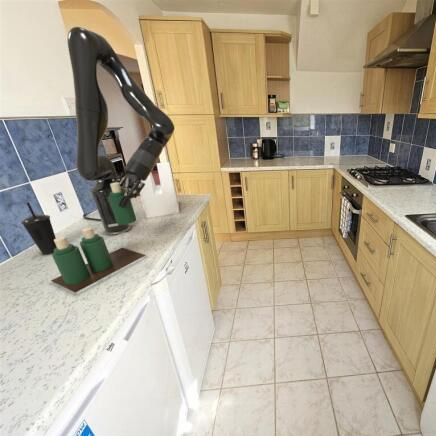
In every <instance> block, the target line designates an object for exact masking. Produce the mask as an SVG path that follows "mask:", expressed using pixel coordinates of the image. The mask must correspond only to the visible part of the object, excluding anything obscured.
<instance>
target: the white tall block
mask: <svg viewBox="0 0 436 436" xmlns="http://www.w3.org/2000/svg"><path fill="white" fill-rule="evenodd" d="M156 168H157V172H158V173H157V174H158V179H159V183H160V184H157V185H156V182H155V179H154V176H153V173H152V171H151V172H150V174H149V176H148V177H147V179H146V180H145V181H142V180H141V182H143V183H144V184H145V186H144V187H143V189H142V190H141V191H140V193H139V197H140V199H141V204H142V207H143V210H144V214H145V217H146V219H150V218H156V217H163V216H168V215H169V216H170V215H175V214H180V203H179V198H178V194H177V190H176V185H175V180H174V176H173V172H172V168H171V164H170V161H167V162H165V161H164V162H156Z"/></svg>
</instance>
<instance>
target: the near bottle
mask: <svg viewBox="0 0 436 436" xmlns="http://www.w3.org/2000/svg"><path fill="white" fill-rule="evenodd" d="M54 242H55V244H56V246H57V248H55V249H54V252H53V253H52V254H51V257H52V260H53V261H54V263H55V265H56V267H57V269H58V271H59V273H60V276H61V275H62V277H63V279H64V282H65V284H67V285H73V284H77V283H80V282H82V281H84V280H86V279H87V278H88V277H89V276H90V274H89V271H88V269H87V267H86V264H87V263H86V261H85V260H84V257H83V254H82V252H81V250H80V248H79V246H77V245H74V244H73V243H69V242H68V239H67V237H66V236H60V237H56V239H54Z"/></svg>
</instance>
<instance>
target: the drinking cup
mask: <svg viewBox="0 0 436 436" xmlns="http://www.w3.org/2000/svg"><path fill="white" fill-rule="evenodd" d="M26 206H27V208H28V210H29V212H30V214H31V216H28V217H26V218H25V219H23V220H21V221H20V224H21V225H22V226H23V227H24V228H25V230H26V232H27V233H28V234H29V236H30V238H31V239H32V240H33V242H34V243H35V245H36V246H37V248H38V249H39V251H40V252H41V254H42V255H52V253H53V252H54V249H55V248H57V246H56V244H55V242H54V239H56V238H57V237H56V235H55V231H54V228H53V225H52V221H51V216H50V215H48V214H35V212H34V209H33V208H32V205H31V204H30V202H26Z"/></svg>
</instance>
